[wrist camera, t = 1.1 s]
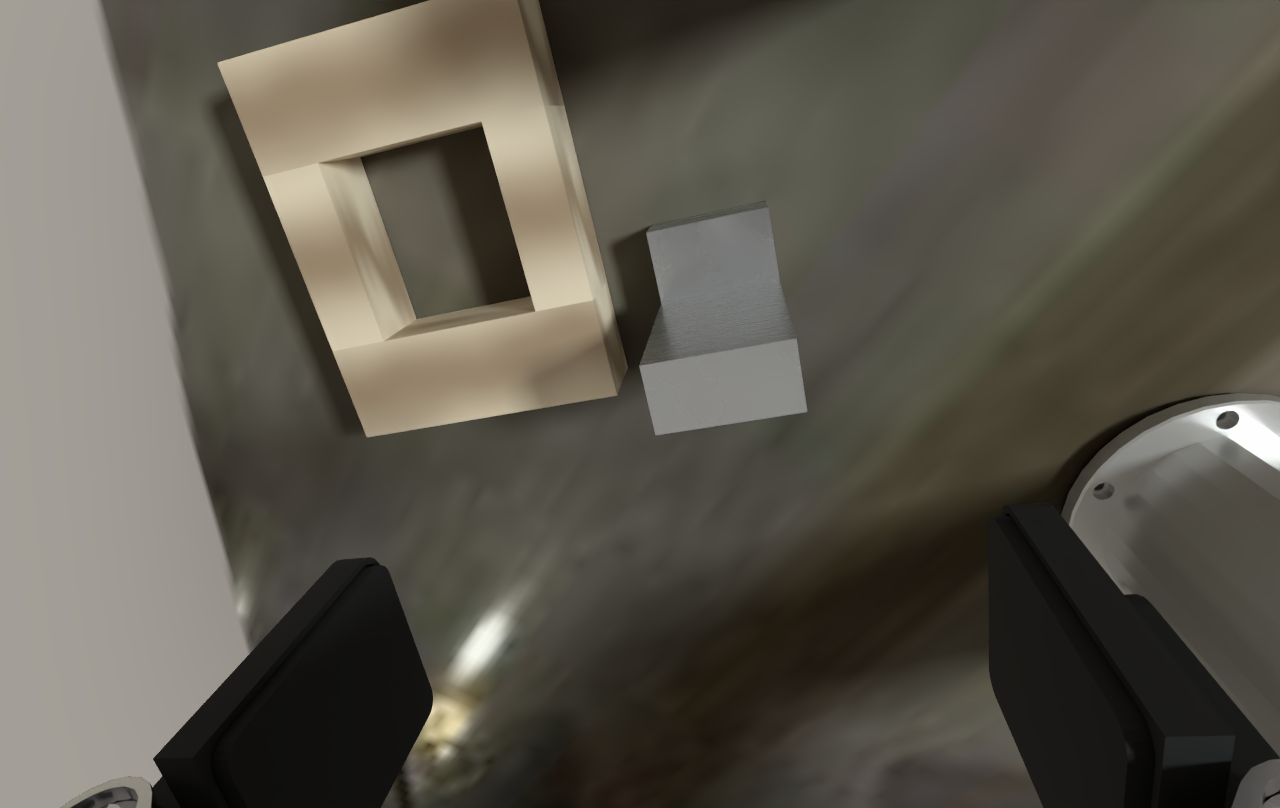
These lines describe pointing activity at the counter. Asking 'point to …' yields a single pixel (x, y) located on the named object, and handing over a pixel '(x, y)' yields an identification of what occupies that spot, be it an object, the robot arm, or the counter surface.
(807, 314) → the counter surface
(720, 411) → the bracket
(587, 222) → the block
